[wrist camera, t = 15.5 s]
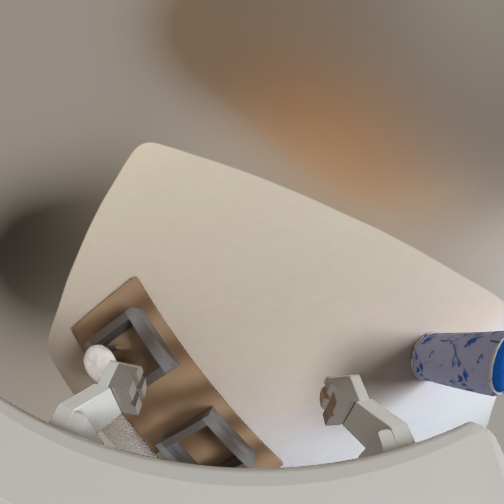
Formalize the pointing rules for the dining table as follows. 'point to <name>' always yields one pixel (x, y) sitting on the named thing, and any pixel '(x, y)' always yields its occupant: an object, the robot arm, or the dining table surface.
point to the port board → (172, 388)
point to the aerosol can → (461, 360)
